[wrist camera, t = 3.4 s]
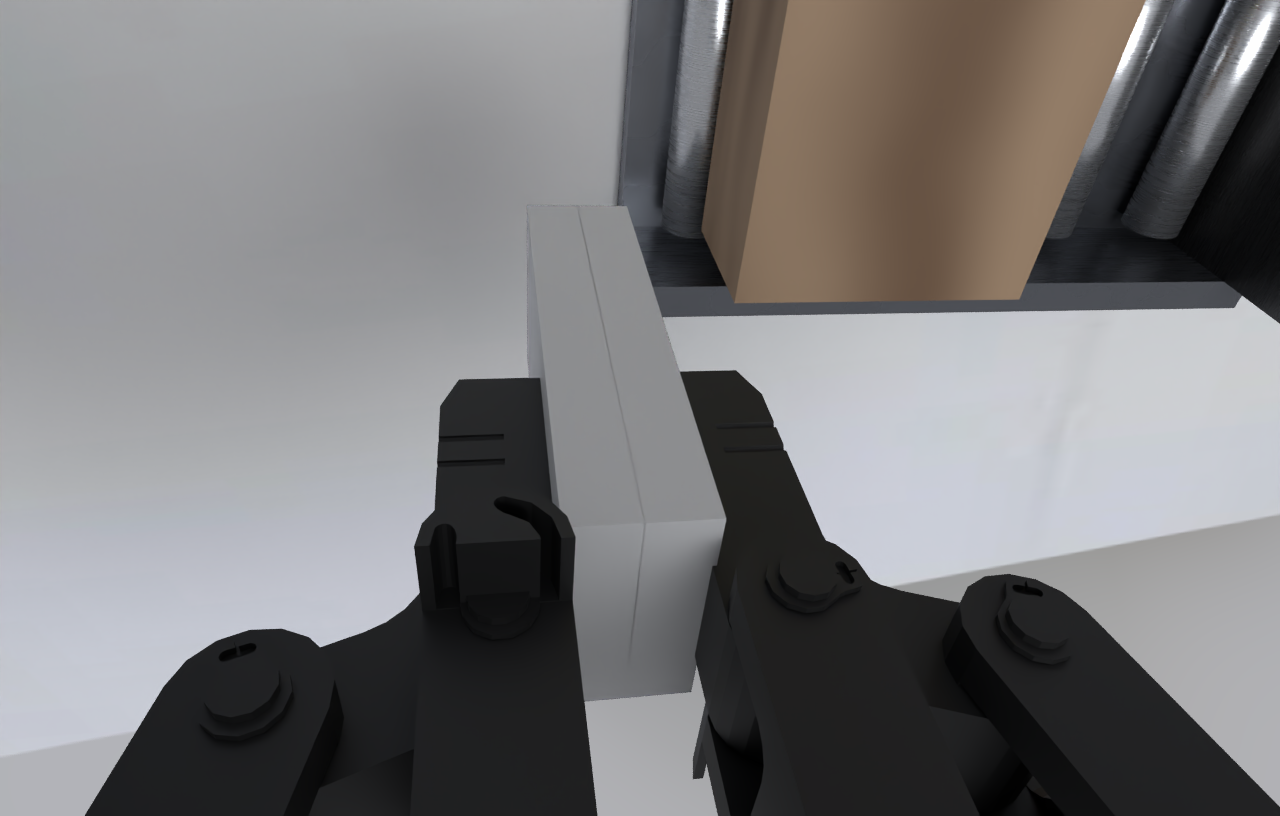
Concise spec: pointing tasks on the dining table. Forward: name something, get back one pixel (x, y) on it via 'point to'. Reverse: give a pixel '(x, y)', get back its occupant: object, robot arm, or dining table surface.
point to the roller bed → (1058, 263)
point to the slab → (901, 143)
